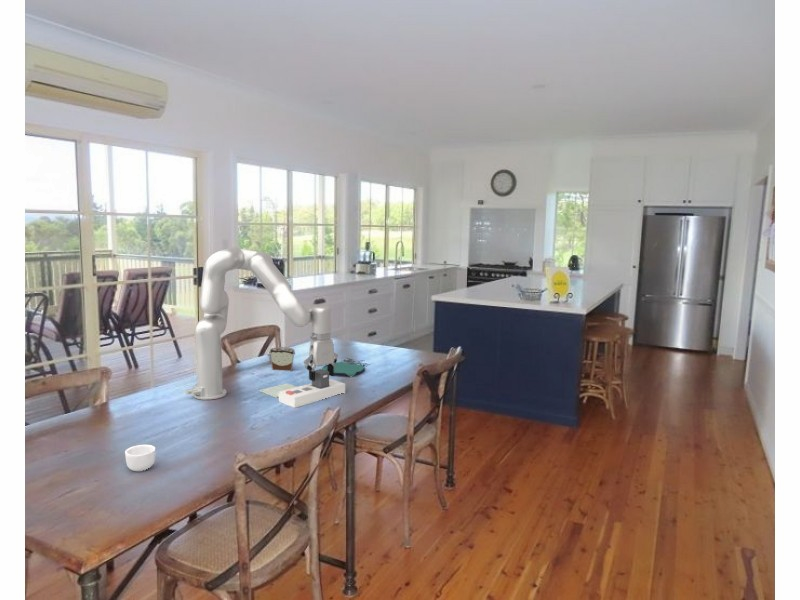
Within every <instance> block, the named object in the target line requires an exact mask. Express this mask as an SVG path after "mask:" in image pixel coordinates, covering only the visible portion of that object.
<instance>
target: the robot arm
mask: <svg viewBox="0 0 800 600" xmlns="http://www.w3.org/2000/svg"><path fill="white" fill-rule="evenodd" d="M236 269H237V270H244V271H247V272H248V271H249V272H250V271H251V273H252V274H253V275H254V276H255V278H256V279H257V280H258V281H259V282H260V283H261V285H262V286H263V287H264V288H265V290H266V291H267V292H268V293H269V295H270V296H271V297H272V299H273V301H274V302H275V304H276V305H277V306H278V308H279V309H280V311H281V312H282V313H283V315H284V316H285V317H286V318H287V319H288V320H289V322H290V323H292V324H293V326H295V327H298V328H304V327H306V326H307V325H309V323H311V335H310V336H309V337H310V339H311V340H310V344H309V350H308V351H309V353H308V357H307V358H305V360H303V364H304V366H305V369H307V371H308V380H309V381H311V382H312V381H315V371H314V370H316V368H317V367H322V366H323V367H324V366H325V365H328V364H329V365H328V366H327V371H329V377H330V376H331V377H334V376H335V374H334V366H335V363H336V362H337V361H338V357H339V354H338V353H336V352H335V347H334V342H333V338H332V337H331V335H332V332H331V330H332V329H331V327H332V325H331V324H332V321H331V320H332V319H331V318H332V317H331V316H332V315H331V313H332V312H331V308H330V306H328V305H308V304H301V302H300V301H299V300H298V298H297V297H296V296H295V294H294V292H293V290H292V289H291V288H292V287H291V285H290V283H289V281H288V279H287V278H286V277H285V276H284V275H283V274H282V272H281V271H280V270H279V269H278V267H277V266H276V265H275V264H274V261H273V257H272V256H271V255H270V254H269V253H268V252H266V251H265V252H264V251H258V250H253V249H247V248H246V249H245V248H240V247H227V248H224V249H221V250H218V251H216V252H213V253H212V254H211V255H210V256H209V257H208V258H207V259H206V260H205V261H204V265H203V269H202V278H201V279H202V280H201V285H200V295H199V307H200V310H201V311H202V312H203V316H202V318H200V320H199V321H198V322H196V325H195V327H194V330H193V331H194V335H193V337H194V342H195V351H196V352H195V355H196V384H194V386H193V387H192V388H188V389H185V391H184V392H185V395H186V396H187V395H191V394H192V396H193V398H195V399H197V400H204V401H205V400H207V401H208V400H216V399H217V400H218V399H221V398H223V397H225V396H226V395H227V389H225V388H223V351H222V350H223V349H222V340H221V335H223V333H224V332H225V331H226V328H227V322H228V316H229V315H228V313H229V304H230V303H229V302H230V300H229V295H228V293H227V292H226V291H225V284H226V274H227V272H230V271H234V270H236Z"/></svg>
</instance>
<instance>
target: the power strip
mask: <svg viewBox="0 0 800 600" xmlns="http://www.w3.org/2000/svg"><path fill="white" fill-rule="evenodd" d="M341 393H344V394H346V383H344V382H341V381H338V380H334V379H332V378H329V387H326V388H322V389H319V388H316V387H313V386H312V382H310V383H307V384H304V385H300V386H296V387H295V388H291V389H287V390H283V391H279V398H278V402H279V403H282V404H284V405H286V406H288V407H292V408H293V409H296V408H299V407H302V406H306V405H309V404H312V403H316V402H319V400H320V401H323V400H326V399H325V398H327V399H329V398H328V397H330V398H332V397H331V396H334V395H337V394H340V395H342V394H341ZM337 396H338V395H337ZM334 397H335V396H334ZM322 399H323V400H322Z"/></svg>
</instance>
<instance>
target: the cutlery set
mask: <svg viewBox="0 0 800 600" xmlns="http://www.w3.org/2000/svg"><path fill="white" fill-rule="evenodd" d="M346 359H349V360H346ZM346 359H343V362H342V361H340V362H339V361H338V362H337V361H336V363H335V366H334V375H339V376H348V377H349V376H352V377H354V376H355V375H356V374H357V375H358V374H360V373H363V372H364V371H365V370H366V366H362V365H361V364H360V365H357V364H358V363H354V362H355V361H351V360H354V358H348V357H347V358H346ZM348 361H349V362H348ZM361 361H364V360H363V359H362V360H361ZM328 365H329V364H327V365H323V367H322V368H321V369H322V370H325V371H327V366H328Z"/></svg>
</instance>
